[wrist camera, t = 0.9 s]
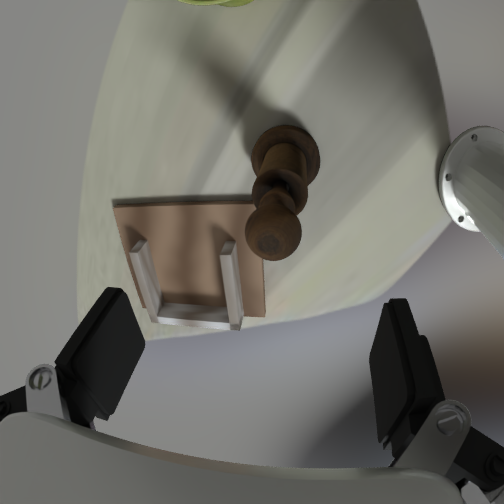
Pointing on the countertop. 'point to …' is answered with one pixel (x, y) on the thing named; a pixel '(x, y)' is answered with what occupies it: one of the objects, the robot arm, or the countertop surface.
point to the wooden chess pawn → (280, 190)
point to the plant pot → (217, 2)
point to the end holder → (193, 262)
